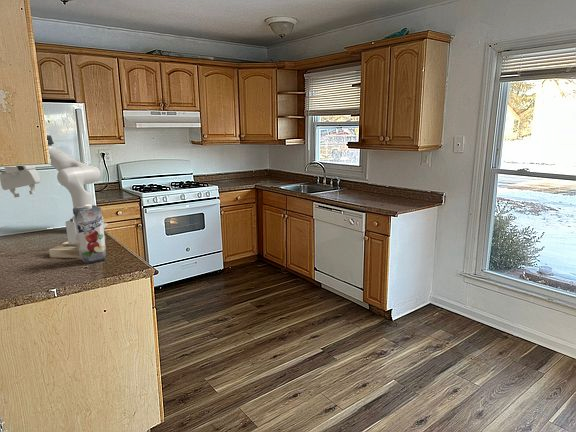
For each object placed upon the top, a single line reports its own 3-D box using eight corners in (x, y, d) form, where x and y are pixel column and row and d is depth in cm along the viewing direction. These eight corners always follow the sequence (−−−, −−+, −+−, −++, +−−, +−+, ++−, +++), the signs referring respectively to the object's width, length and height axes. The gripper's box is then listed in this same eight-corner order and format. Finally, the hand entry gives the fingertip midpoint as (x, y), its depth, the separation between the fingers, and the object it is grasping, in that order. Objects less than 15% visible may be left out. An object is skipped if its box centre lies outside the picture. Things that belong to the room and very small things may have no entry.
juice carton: (79, 260, 189) (71, 204, 183) (102, 256, 195) (96, 201, 190) (84, 265, 182) (76, 207, 176) (108, 260, 189) (101, 204, 183)
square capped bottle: (73, 242, 204) (70, 217, 201) (82, 242, 203) (79, 217, 201) (68, 245, 199) (65, 219, 197) (77, 245, 199) (73, 219, 196)
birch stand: (71, 246, 212) (69, 232, 210) (101, 246, 211) (99, 232, 209) (50, 257, 194) (47, 241, 192) (82, 257, 193) (79, 241, 191)
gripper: (-7, 173, 198) (2, 200, 200) (27, 165, 193) (36, 193, 196) (4, 171, 204) (13, 197, 206) (37, 164, 199) (46, 191, 202)
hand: (24, 195), depth 201 cm, fingers open, 8 cm apart
